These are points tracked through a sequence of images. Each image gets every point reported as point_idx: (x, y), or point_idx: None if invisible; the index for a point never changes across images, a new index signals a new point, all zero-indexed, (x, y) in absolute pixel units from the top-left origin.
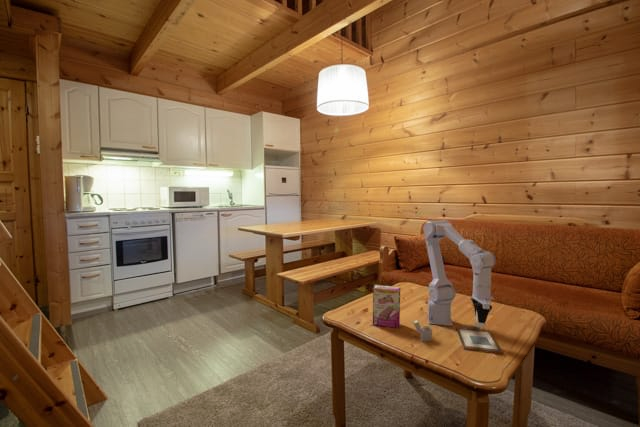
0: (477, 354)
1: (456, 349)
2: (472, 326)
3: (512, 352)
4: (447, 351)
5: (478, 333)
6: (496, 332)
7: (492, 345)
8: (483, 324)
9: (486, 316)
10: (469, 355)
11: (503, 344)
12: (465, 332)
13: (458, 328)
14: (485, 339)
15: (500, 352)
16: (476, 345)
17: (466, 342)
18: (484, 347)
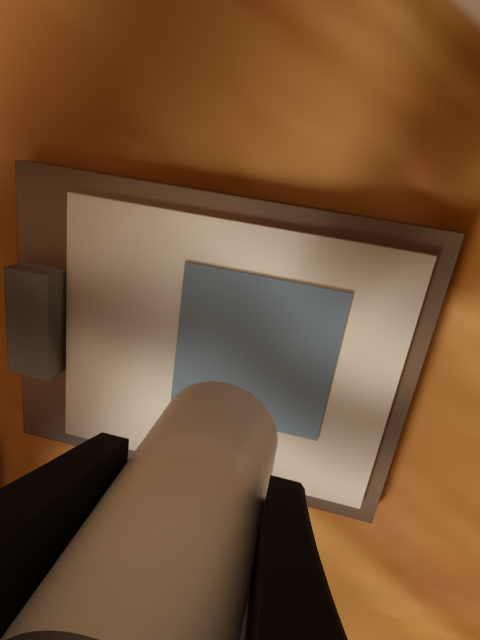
0: (455, 446)
1: (371, 556)
2: (10, 325)
3: (429, 90)
4: (402, 622)
5: (114, 305)
6: (6, 71)
7: (351, 278)
8: (268, 459)
9: (329, 616)
10: (468, 510)
11: (259, 113)
12: (115, 410)
13: (43, 425)
14: (233, 294)
15: (457, 241)
16: (353, 425)
17: (302, 481)
18: (391, 372)
